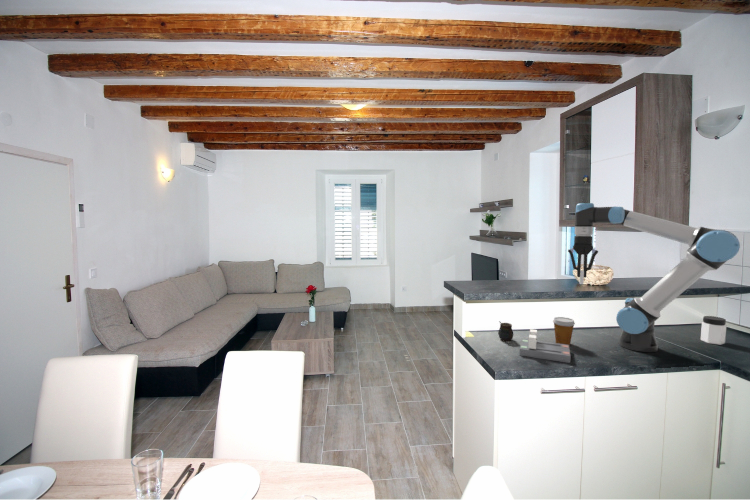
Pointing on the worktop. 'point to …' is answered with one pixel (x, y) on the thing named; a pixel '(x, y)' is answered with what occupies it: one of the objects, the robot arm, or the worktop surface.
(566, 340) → the disposable coffee cup
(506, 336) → the mate gourd
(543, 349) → the panel
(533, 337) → the block
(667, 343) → the worktop surface
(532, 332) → the block
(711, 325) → the jar
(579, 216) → the robot arm
